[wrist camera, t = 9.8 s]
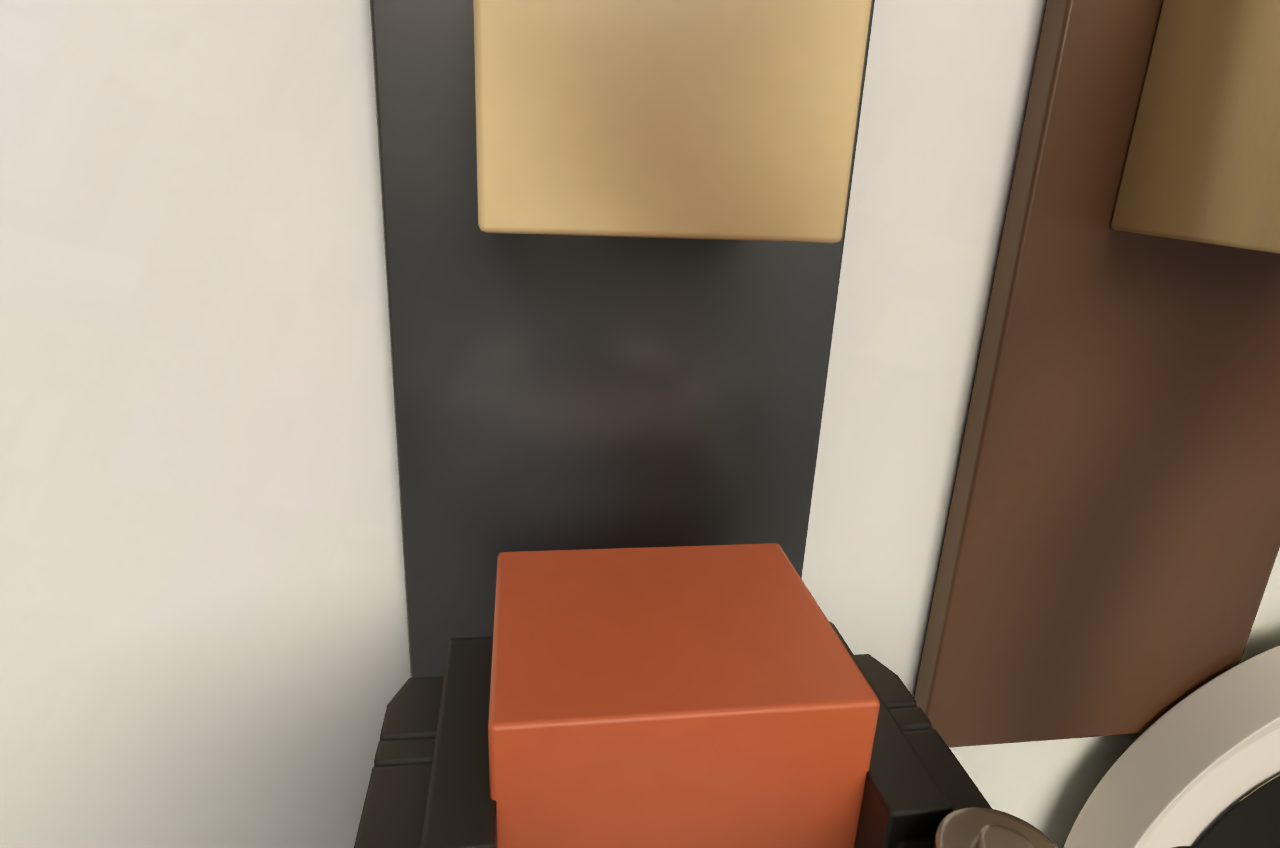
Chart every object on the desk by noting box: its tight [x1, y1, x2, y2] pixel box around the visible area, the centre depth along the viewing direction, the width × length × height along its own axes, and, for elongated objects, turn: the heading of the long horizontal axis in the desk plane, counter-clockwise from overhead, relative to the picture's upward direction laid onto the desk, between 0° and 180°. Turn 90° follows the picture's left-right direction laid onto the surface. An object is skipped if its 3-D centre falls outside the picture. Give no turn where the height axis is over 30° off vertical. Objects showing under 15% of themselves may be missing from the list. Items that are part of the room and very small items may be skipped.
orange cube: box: [488, 543, 880, 848], centre depth 10 cm, size 4×4×4 cm
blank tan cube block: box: [473, 0, 872, 243], centre depth 9 cm, size 4×4×4 cm
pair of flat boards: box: [370, 0, 1280, 747], centre depth 15 cm, size 17×24×1 cm
